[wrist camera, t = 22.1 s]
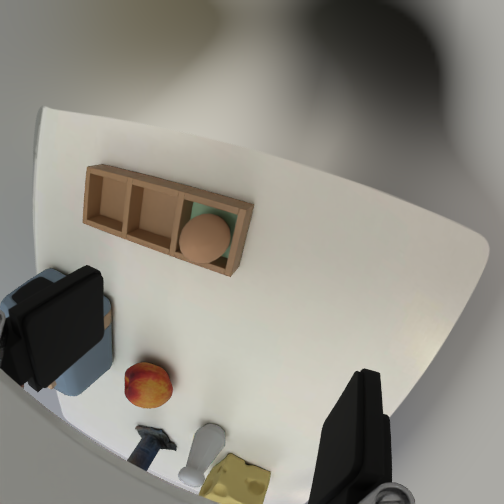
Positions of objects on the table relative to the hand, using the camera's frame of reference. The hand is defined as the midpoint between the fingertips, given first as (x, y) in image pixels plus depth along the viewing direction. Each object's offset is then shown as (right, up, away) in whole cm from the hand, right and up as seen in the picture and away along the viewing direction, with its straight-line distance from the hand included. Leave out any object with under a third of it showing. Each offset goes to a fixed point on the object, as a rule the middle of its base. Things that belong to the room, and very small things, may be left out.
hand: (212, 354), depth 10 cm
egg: (-3, +6, +28) cm, 29 cm away
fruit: (-15, -17, +40) cm, 46 cm away
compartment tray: (-10, +9, +30) cm, 32 cm away
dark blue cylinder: (-20, -37, +48) cm, 64 cm away
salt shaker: (-6, -30, +42) cm, 52 cm away
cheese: (-1, -43, +45) cm, 62 cm away
